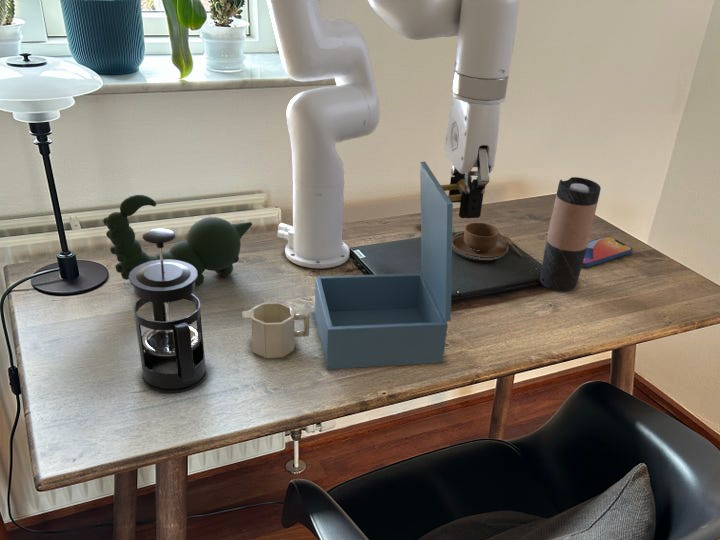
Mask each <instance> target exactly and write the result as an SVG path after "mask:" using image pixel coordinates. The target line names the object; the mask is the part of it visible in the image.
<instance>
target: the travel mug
mask: <svg viewBox="0 0 720 540" xmlns="http://www.w3.org/2000/svg"><path fill="white" fill-rule="evenodd" d="M601 189H602V188H601V185H600V184H598V183H597V182H595V181H594V180H591V179H588V178H584V177H577V176H571V177H570V178H569V179H567V180H563V179H560V180H559V181H558V186H557V190H556V195H555V200H554V204H553V209H552V214H551V217H550V223H549V227H548V232H547V236H546V241H545V246H544V252H543V258H542V263H541V270H540V276H539V281H540V284H541V285H542V286H544V287H545V288H547V289H549V290H552V291H556V292H570V291H572V290H574V289H576V287H577V284H578V281H579V278H580V275H581V271H582V268H583V267H582V264H583V260H584V257H585V253H586V250H587V246H588V242H589V241H590V237H591V233H592V230H593V229H592V228H593V224H594V221H595V215H596V211H597V206H598V203H599V199H600V194H601ZM541 274H542V276H543V278H544V281H543V280H542V278H541Z"/></svg>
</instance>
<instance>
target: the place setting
mask: <svg viewBox="0 0 720 540" xmlns="http://www.w3.org/2000/svg"><path fill="white" fill-rule="evenodd" d="M417 229H418V230H420V231H421V224H419V225H418V226H417ZM499 234H500V230H499V229H498V228H497V227H495V226H494V225H492V224H490V223H486V222H471V223H468V224H467V225H465V226H464V231H462V232H458V233H455V234H453V235H452V246H453V247H454V248H456V249H457V250H459V251H461V252H462V253H465V254H466V255H470V256H474V257H480V258H494V257H499V256H502V255H504V254H506V253H507V254H508V252H509V248H510V247H509V246H511V248H512V249H513V250H514V251H515V252H516V253H517V255H519V256H520V257H521V258H524V257H523V254H522V252H520V251H519V249H517V248H516V246H514V244H513V240H512V238H510V237H509V236H507V235H502V237H500V236H499ZM460 235H464V236H462V237H459V238H457V239H455V240H454V241H453V239H454V238H455V237H457V236H460ZM498 239H499V240H501V241H502V242H503V243H504V244H505V245H506V247H507V250H506V248H505V246H504V245H503V244H502V243H501V242H499V241H497V240H498ZM471 248H472V249H471ZM473 249H475V250H473ZM476 250H480V251H476ZM452 251H454V252H455V253H456V254H457V255H459V256H460V257H461V258H464V259H466V260H469V261H473V262H479V263H489V262H494V261H498V260H501V259H503V258H504V257H505V256H503V257H501V258H498V259H493V260H479V259H473V258H469V257H466V256H463V255H461V254H459V253H457V252H456V251H455V250H454V249H453V248H452ZM507 254H506V255H507Z"/></svg>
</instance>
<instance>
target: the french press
mask: <svg viewBox="0 0 720 540" xmlns="http://www.w3.org/2000/svg"><path fill="white" fill-rule="evenodd" d="M176 235H177V234H176V233H175V232H174V231H173V230H171V229H169V228H152V229H150V230H147V231H145V232H144V233H143V234H142V236H141V237H142V239H143V240H144V241H145V242H147V243H149V244H155V245H156V248H157V249H158V250H159V252H158V253H160V260H154V261H150V262H146V263H143V264H141V265H139V266H137V267H135V268H134V269H133V270H132V271H131V272H130V274H129V279H128V281H129V283H130V285H131V286H132V287H133V292H134V294H135V295H136V296H137V297H138V299H136V301H135V302H134V304H133V316H134V322H135V328H136V329H135V330H136V335H137V343H138V350H139V357H140V362H141V363H140V364H141V369H142V371H141V380H142V382H143V384H144V385H145V387H147V389H150V390H152V391H154V392H158V393H162V394H180V393H184V392H188V391H191V390H193V389H195V388H197V387H199V386H200V385H201V384H202V383H204V381H205V380H206V379H207V377H208V366H207V365H206V356H205V345H204V334H203V324H202V323H203V322H202V309H201V301H200V299H199V298H198V296H196V295H195V294H194V292H195V290H196V286H195V281H196V279H197V276H198V274H197V270H196V268H195V267H194V266H192V265H191V264H189V263H186V262H183V261H179V260H170V259H164V260H163V254H162V252H163V248H164V247H165V243H169V242H172V241H173V240H175V238H176V237H177V236H176ZM182 300H186V301H188V302H191V303H192V304H194V312H192V313H191V314H189V315H188V316H185V317H182V318H180V319H175V320H171V315H170V306H169V304H170V303H175V302H179V301H182ZM148 303H151V307H152V314H153V320H151V319H147V318H145V317H143V316H141V315H140V314H138V311H139V310H140V308H142V307H143V306H144V305H146V304H148ZM195 322H196V327H194V326H192V324H193V323H195ZM141 326H142V327H143V328H146V329H147V330H145V332H144V333H143V334H142V327H141ZM169 361H176V362H175V363H176V370H177V372H171V373H170V372H167V373H166V372H160V371H156V370H154V369H155V368H156V367H158V366H159V365H160V364H162V363H166V362H169Z"/></svg>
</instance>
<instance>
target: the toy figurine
mask: <svg viewBox="0 0 720 540" xmlns="http://www.w3.org/2000/svg"><path fill="white" fill-rule="evenodd" d="M146 206H151V207H156V206H157V202H156V201H155V200H154V199H153V198H151V197H150V196H147V195H144V194H133V195H130V196H128V197H127V198H124V200H123V201H121V203H120V205H119V211H114V212H110V214H108V216H106V217H104V218H103V220H102V222H103V224H104V225H105V226H106V227H107V229H108V230H107V231H106V234H105V235H106V237H107V238H108V239H109V240H110V242H111V243H112V244H113V245H112V246H110V248H109V251H110V253H111V254H112V255H115V256H116V260H117V261H118V262H117V263H116V265H115V267H114V268H115V270H116V272H117V273H120V276H121V278H122V279H123V280H125V281H129V274H130V272H131V271H132V270H133V269H134V268H135V267H137V266H139V265H141V264H143V263H146V262H150V261H154V260H160V252H158V253H157V254H155V255H149V254H148V253H146V251H144V250H143V249H142V245H141V244H140V242H139V241H138V240H137V239H136V233H135V231H134V229H133V228H132V227H131V226H130V219H129V218H128V217H131V216H133V215H134V214H135V213H136V212H137V211H138V210H139V209H141V208H142V207H146ZM252 226H253V222H250V221H249V222H248V221H247V222H239V223H231V222H230V221H228V220H226V219H224V218H221V217H216V216H208V217H204V218H201V219H199V220H197V221H196V222H195V223H194V224H192V225H191V227H190V228H189V230H188V232H187V234H186V237H185V240H181V241H177V242H175V243H174V244H173V245H172V246H171V247H170V248H169V250H168V251H162V254H163V260H164V259H170V260H179V261H183V262H186V263H189V264H191V265H192V266H194V267H195V268H196V270H197V274H198V276H197V279H196V281H195V287H198V286H201V285H203V283H204V282H205V276H204V274H203V273H204V272H205V271H211V272H215V273H216V274H217V275H219V276H222V277H227V276H229V275H231V274H232V273H233V272H234V266H233V264H236V263H238V262H239V260H240V257H239V255H240V251H241V245H242V244H241V243H242V242H241V239H242V237H243V236H244V235H245V234H246V233H247V232H248V230H249V229H251V227H252Z"/></svg>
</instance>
